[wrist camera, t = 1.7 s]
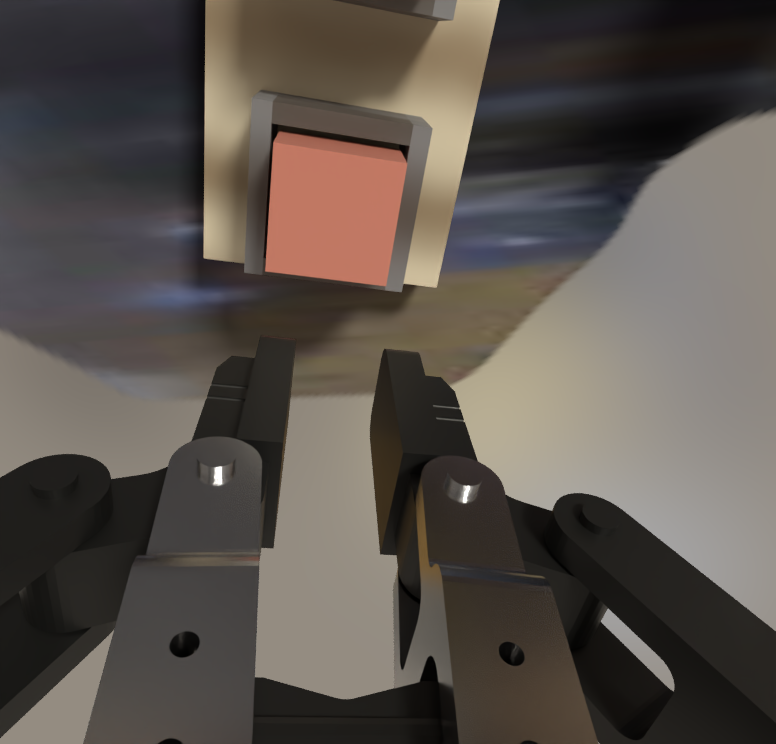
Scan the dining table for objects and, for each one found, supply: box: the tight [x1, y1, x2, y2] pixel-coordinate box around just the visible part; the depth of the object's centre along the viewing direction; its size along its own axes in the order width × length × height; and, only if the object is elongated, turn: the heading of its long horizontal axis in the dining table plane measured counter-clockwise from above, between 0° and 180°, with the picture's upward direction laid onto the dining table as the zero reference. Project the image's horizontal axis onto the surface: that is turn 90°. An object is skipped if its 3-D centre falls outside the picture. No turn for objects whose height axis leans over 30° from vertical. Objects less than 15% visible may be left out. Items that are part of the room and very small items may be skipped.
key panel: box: [204, 0, 500, 292], centre depth 25 cm, size 20×12×6 cm, turn 171°
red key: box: [265, 130, 407, 286], centre depth 24 cm, size 5×5×3 cm
